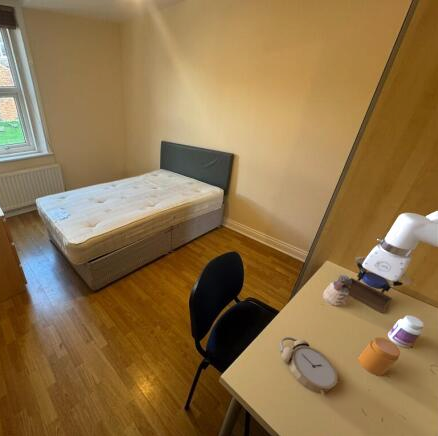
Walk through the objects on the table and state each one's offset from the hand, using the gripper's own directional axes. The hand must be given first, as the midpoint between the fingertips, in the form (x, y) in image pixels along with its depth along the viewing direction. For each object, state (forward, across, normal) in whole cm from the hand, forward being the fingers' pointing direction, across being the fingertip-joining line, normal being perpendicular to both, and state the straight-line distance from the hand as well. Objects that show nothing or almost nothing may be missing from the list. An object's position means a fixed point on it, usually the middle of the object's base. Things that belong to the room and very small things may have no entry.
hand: (371, 284), depth 88 cm
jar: (+6, +11, -30) cm, 33 cm away
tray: (+6, 0, 0) cm, 6 cm away
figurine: (+6, -6, -12) cm, 15 cm away
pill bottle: (+6, +13, -13) cm, 19 cm away
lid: (-3, 0, 0) cm, 3 cm away
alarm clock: (+7, 0, -47) cm, 47 cm away
